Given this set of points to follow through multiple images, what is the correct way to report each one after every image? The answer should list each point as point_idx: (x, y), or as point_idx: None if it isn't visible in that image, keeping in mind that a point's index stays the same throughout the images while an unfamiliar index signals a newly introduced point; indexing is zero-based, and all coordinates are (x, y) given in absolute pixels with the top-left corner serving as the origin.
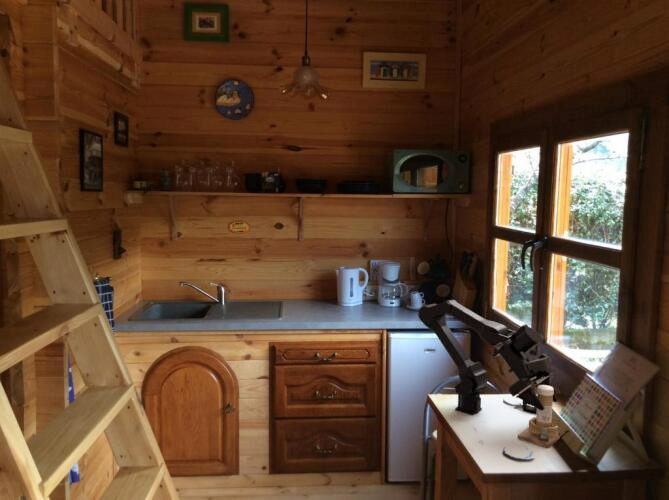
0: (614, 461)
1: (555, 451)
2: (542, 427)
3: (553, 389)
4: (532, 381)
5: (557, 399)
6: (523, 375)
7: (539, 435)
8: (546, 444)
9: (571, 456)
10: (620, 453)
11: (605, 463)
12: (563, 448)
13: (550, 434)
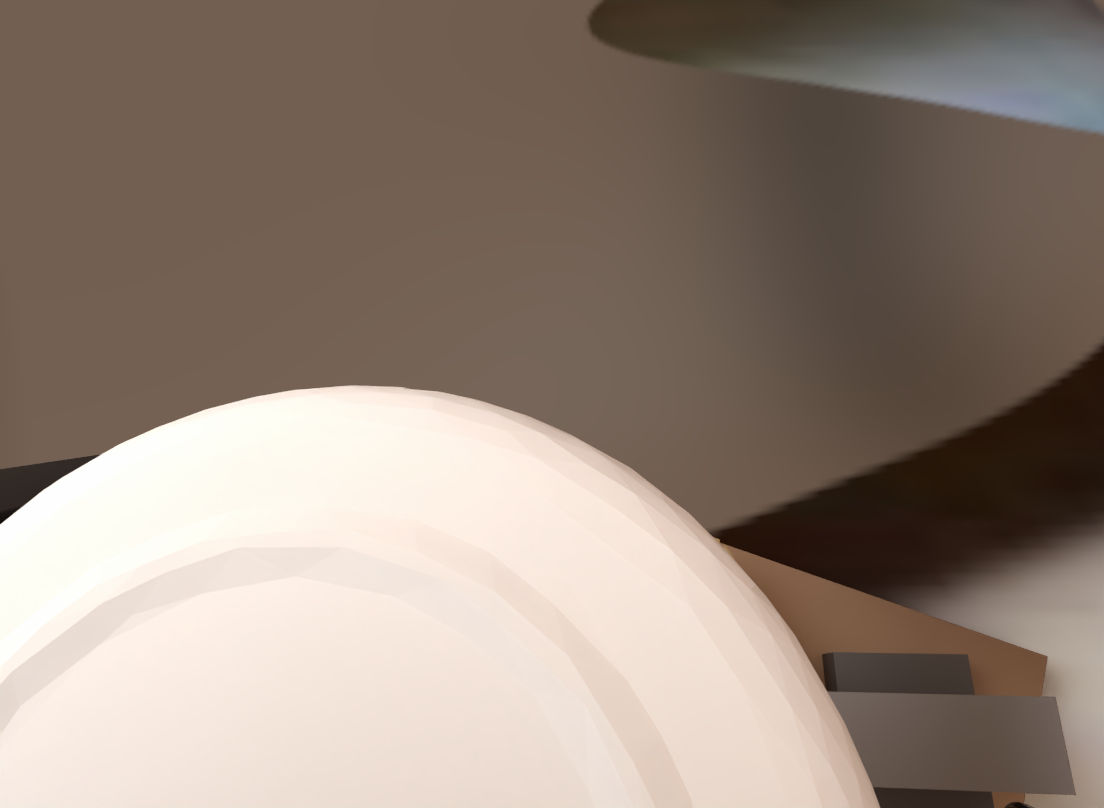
0: (949, 48)
1: (1072, 566)
2: None
3: (420, 391)
4: None
5: None
6: None
7: (931, 804)
8: (1039, 684)
9: (1097, 389)
10: (739, 18)
11: (1049, 105)
12: (917, 475)
13: None
